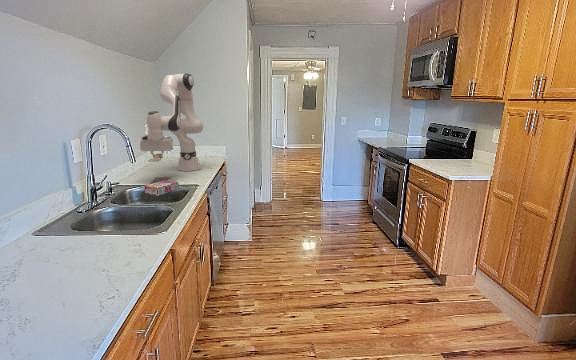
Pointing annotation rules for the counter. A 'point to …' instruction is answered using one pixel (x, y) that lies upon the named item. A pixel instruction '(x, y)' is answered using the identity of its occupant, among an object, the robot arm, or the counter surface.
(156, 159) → the wooden handled scraper
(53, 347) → the counter surface
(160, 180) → the mat
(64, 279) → the counter surface
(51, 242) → the counter surface
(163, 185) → the candy bar box
